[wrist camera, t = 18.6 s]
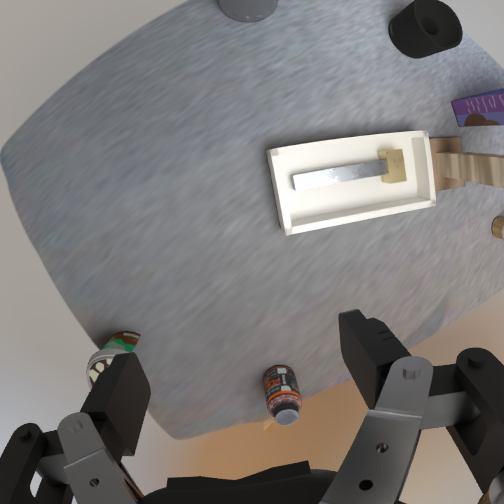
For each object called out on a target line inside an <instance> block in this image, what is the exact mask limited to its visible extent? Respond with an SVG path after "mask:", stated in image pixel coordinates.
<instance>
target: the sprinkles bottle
mask: <svg viewBox="0 0 504 504" xmlns="http://www.w3.org/2000/svg"><path fill="white" fill-rule="evenodd" d="M492 232H493V235H494V236H495V237H497V238H501V239H503V240H504V218H503V217H501V216H499V217H497V218H496V219H495V220H494V222H493V225H492Z"/></svg>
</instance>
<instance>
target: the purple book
mask: <svg viewBox="0 0 504 504" xmlns="http://www.w3.org/2000/svg"><path fill="white" fill-rule="evenodd" d="M451 104H452V107H453V110H454V113H455V116H456V119H457V122H458V126H459V127H463V126H489V125H504V89H500V90H495V91H491V92H487V93H483V94H479V95H475V96H471V97H467V98H464V99H460V100H456V101H452V102H451Z"/></svg>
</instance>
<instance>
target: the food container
mask: <svg viewBox="0 0 504 504" xmlns="http://www.w3.org/2000/svg"><path fill="white" fill-rule="evenodd" d="M140 336H141V335H140V334H137V333H135V332H129V331H123V332H118V333H116V334H114V335H113V336H112V337H111V338H110V339H109V341H108V342H107V343H106V345H105V346H104V347H103V349H102V350H100V351H98V352H96V353H95V354H94V355H92V357H91V358H90V360H89V363H88V367H87V372H86V373H87V381H88V385H89V387H90V389H91V388H92V386H93V385H94V383H95V381H96V379H97V377H98V375H99V374H100V373H101V372H102V371H103V370H104V369H105V368H106V367H109V366H110V364H111V362H112V360H113V358H114V356H115V355H116V354H121V353H129V352H134V349H135V347H136V345H137V342H138V340H139V338H140Z"/></svg>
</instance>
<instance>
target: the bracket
mask: <svg viewBox="0 0 504 504" xmlns="http://www.w3.org/2000/svg"><path fill="white" fill-rule="evenodd" d="M429 142H430V149H431V157H432V166H433V175H434V185H435V191H439V190H445V189H451V188H457V187H463V186H466V185H465V181H470V182H476V183H481V184H486V185H491V186H496V187H501V188H504V155H497V154H484V153H470V152H462V144H461V137H449V138H434V139H429Z"/></svg>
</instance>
